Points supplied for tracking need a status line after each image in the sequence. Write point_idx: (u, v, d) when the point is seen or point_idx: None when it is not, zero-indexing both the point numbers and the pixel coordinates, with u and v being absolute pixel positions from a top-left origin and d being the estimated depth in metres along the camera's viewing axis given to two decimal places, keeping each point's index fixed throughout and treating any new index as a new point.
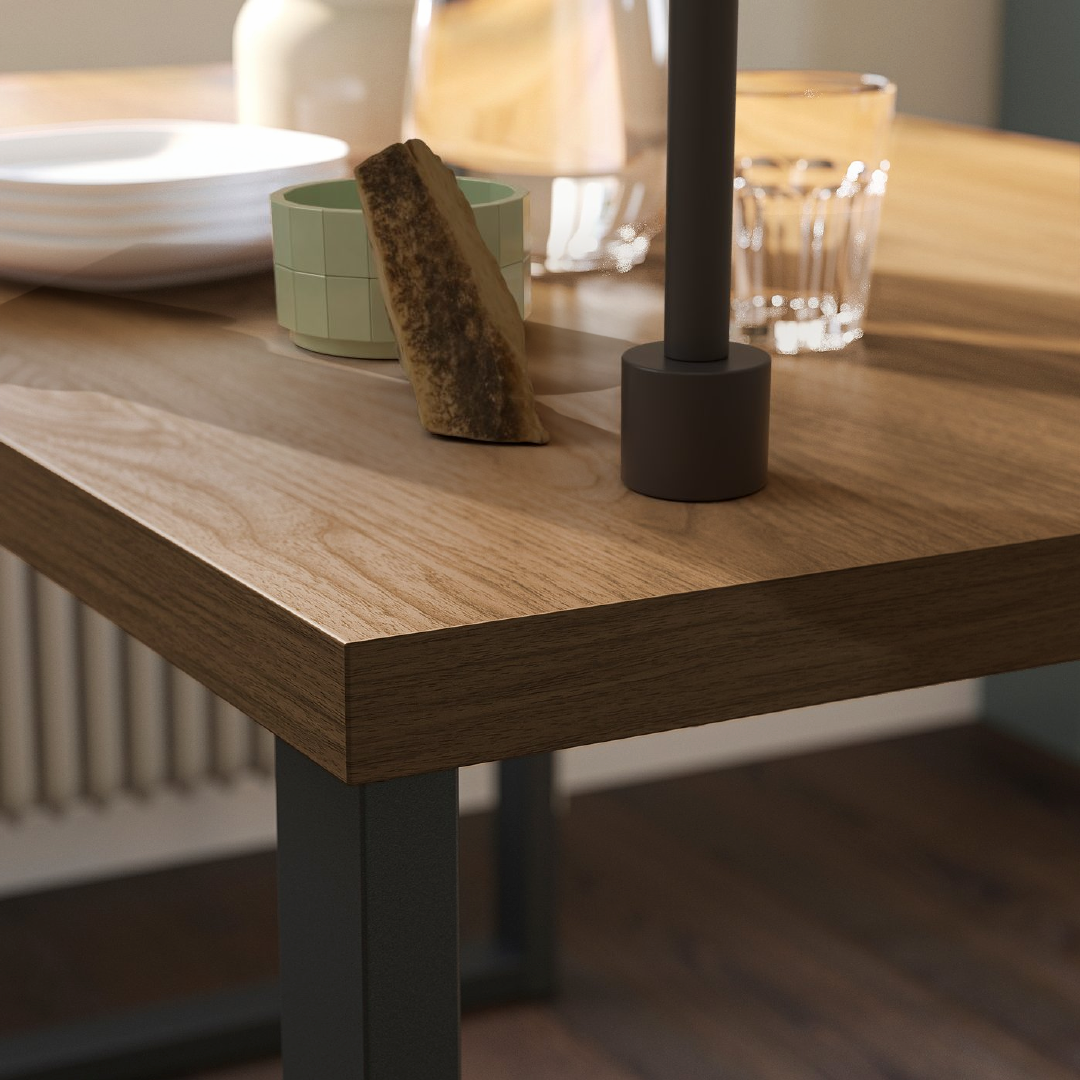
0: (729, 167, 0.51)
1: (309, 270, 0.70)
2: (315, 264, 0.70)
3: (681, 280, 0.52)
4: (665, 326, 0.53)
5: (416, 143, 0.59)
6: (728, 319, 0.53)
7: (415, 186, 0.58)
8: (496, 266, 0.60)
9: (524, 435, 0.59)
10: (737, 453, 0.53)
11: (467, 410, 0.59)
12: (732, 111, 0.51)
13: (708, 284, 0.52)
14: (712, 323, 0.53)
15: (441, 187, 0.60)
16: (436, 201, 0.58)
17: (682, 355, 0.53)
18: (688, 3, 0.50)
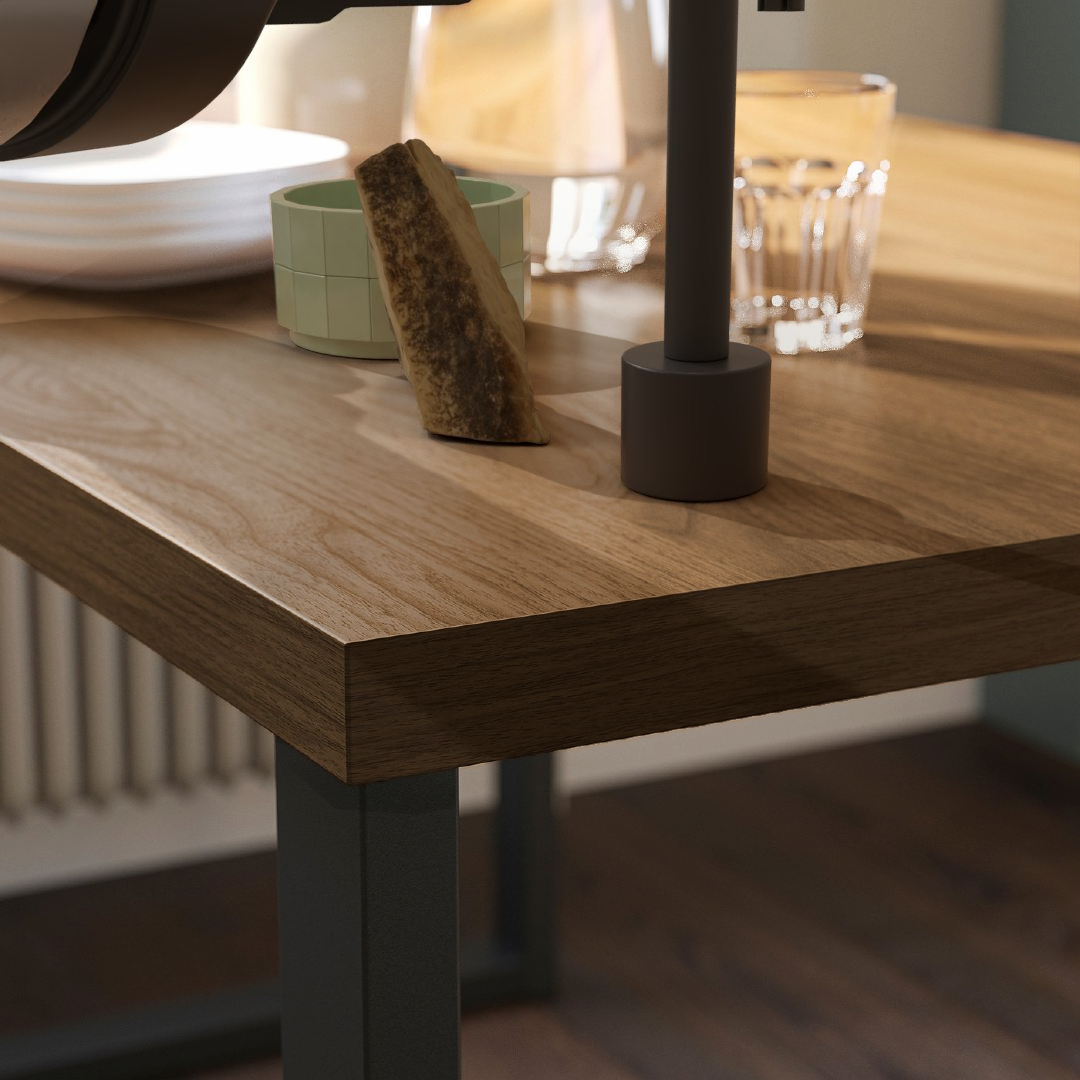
0: (729, 167, 0.51)
1: (309, 270, 0.70)
2: (315, 264, 0.70)
3: (681, 280, 0.52)
4: (665, 326, 0.53)
5: (416, 143, 0.59)
6: (728, 319, 0.53)
7: (415, 186, 0.58)
8: (496, 266, 0.60)
9: (524, 435, 0.59)
10: (737, 453, 0.53)
11: (467, 410, 0.59)
12: (732, 111, 0.51)
13: (708, 284, 0.52)
14: (712, 323, 0.53)
15: (441, 187, 0.60)
16: (436, 201, 0.58)
17: (682, 355, 0.53)
18: (688, 3, 0.50)
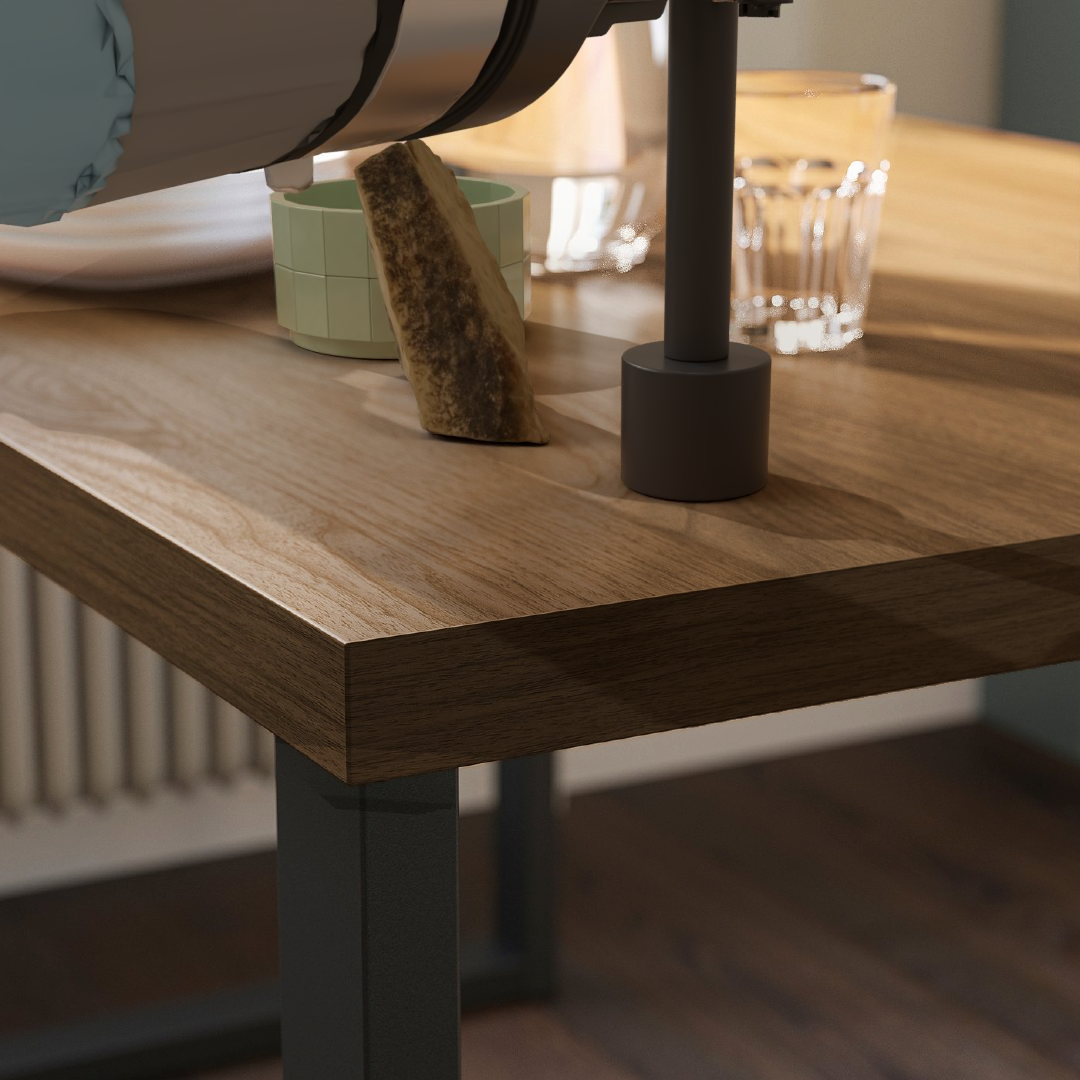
0: (729, 167, 0.51)
1: (309, 270, 0.70)
2: (315, 264, 0.70)
3: (681, 280, 0.52)
4: (665, 326, 0.53)
5: (416, 143, 0.59)
6: (728, 319, 0.53)
7: (415, 186, 0.58)
8: (496, 266, 0.60)
9: (524, 435, 0.59)
10: (737, 453, 0.53)
11: (467, 410, 0.59)
12: (732, 111, 0.51)
13: (708, 284, 0.52)
14: (712, 323, 0.53)
15: (441, 187, 0.60)
16: (436, 201, 0.58)
17: (682, 355, 0.53)
18: (688, 3, 0.50)
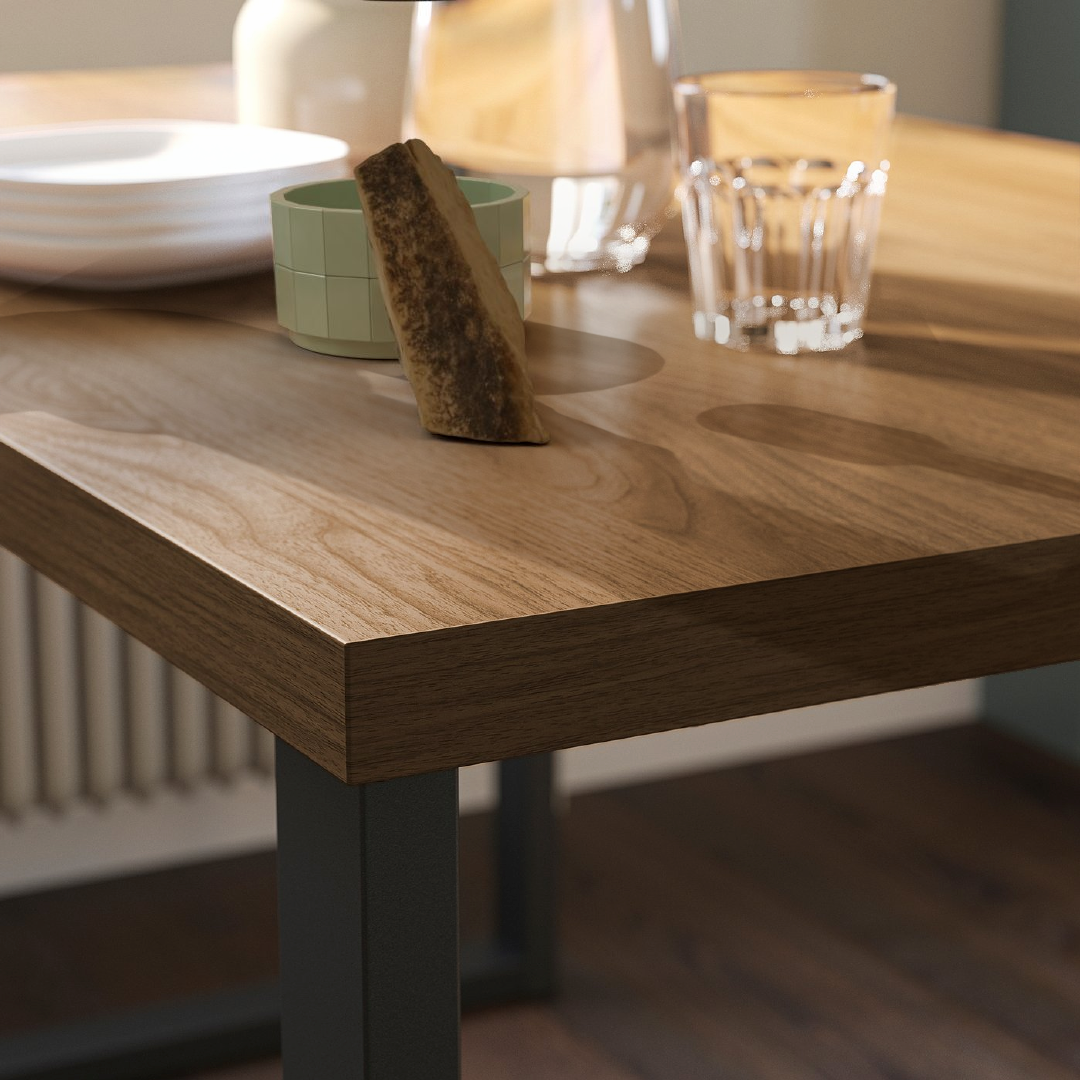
0: None
1: (309, 270, 0.70)
2: (315, 264, 0.70)
3: None
4: None
5: (416, 143, 0.59)
6: None
7: (415, 186, 0.58)
8: (496, 266, 0.60)
9: (524, 435, 0.59)
10: None
11: (467, 410, 0.59)
12: None
13: None
14: None
15: (441, 187, 0.60)
16: (436, 201, 0.58)
17: None
18: None
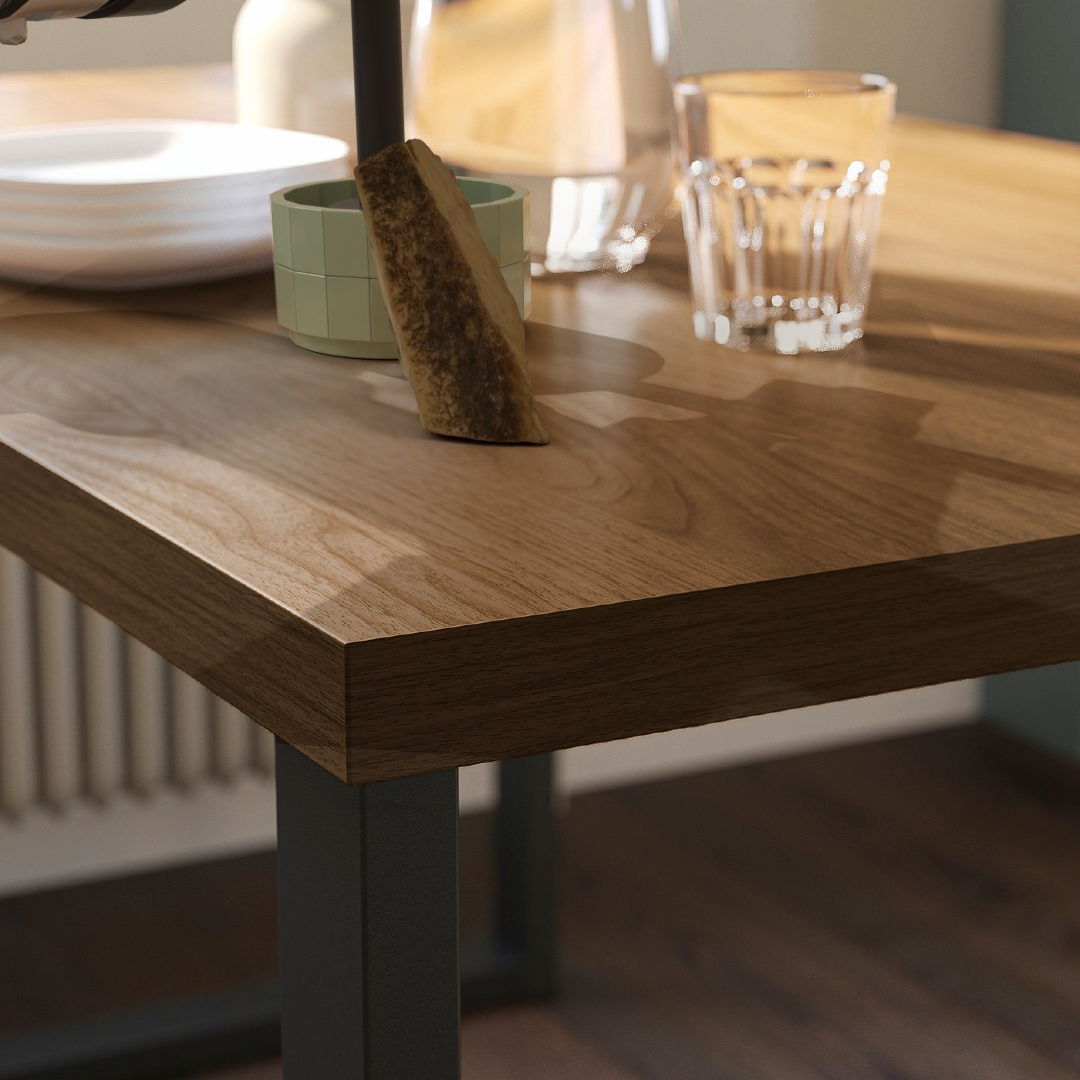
0: (396, 63, 0.71)
1: (309, 270, 0.70)
2: (315, 264, 0.70)
3: (365, 146, 0.72)
4: None
5: (416, 143, 0.59)
6: None
7: (415, 186, 0.58)
8: (496, 266, 0.60)
9: (524, 435, 0.59)
10: None
11: (467, 410, 0.59)
12: (396, 22, 0.71)
13: None
14: None
15: (441, 187, 0.60)
16: (436, 201, 0.58)
17: None
18: None
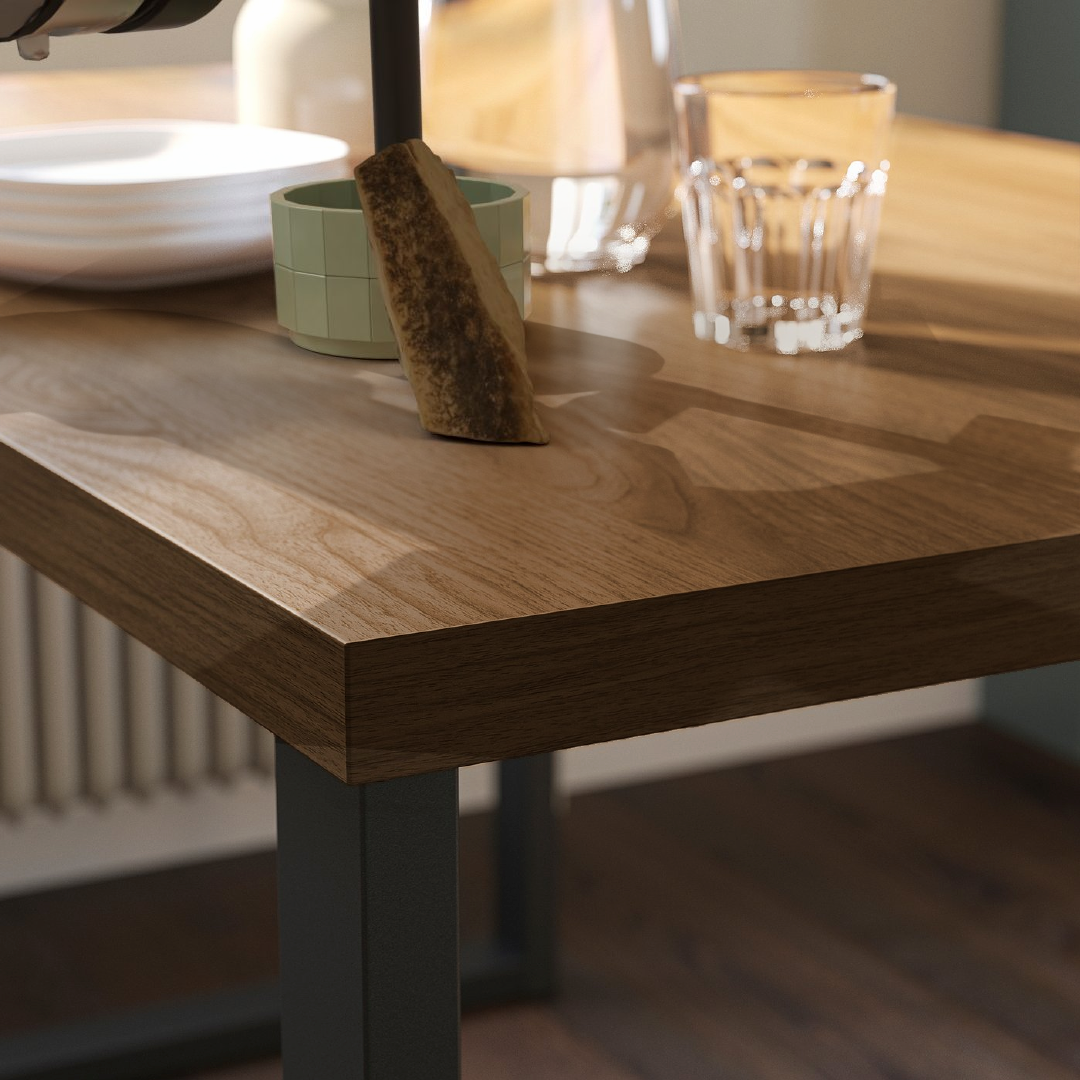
0: (415, 81, 0.71)
1: (309, 270, 0.70)
2: (315, 264, 0.70)
3: None
4: None
5: (416, 143, 0.59)
6: None
7: (415, 186, 0.58)
8: (496, 266, 0.60)
9: (524, 435, 0.59)
10: None
11: (467, 410, 0.59)
12: (415, 41, 0.71)
13: None
14: None
15: (441, 187, 0.60)
16: (436, 201, 0.58)
17: None
18: None
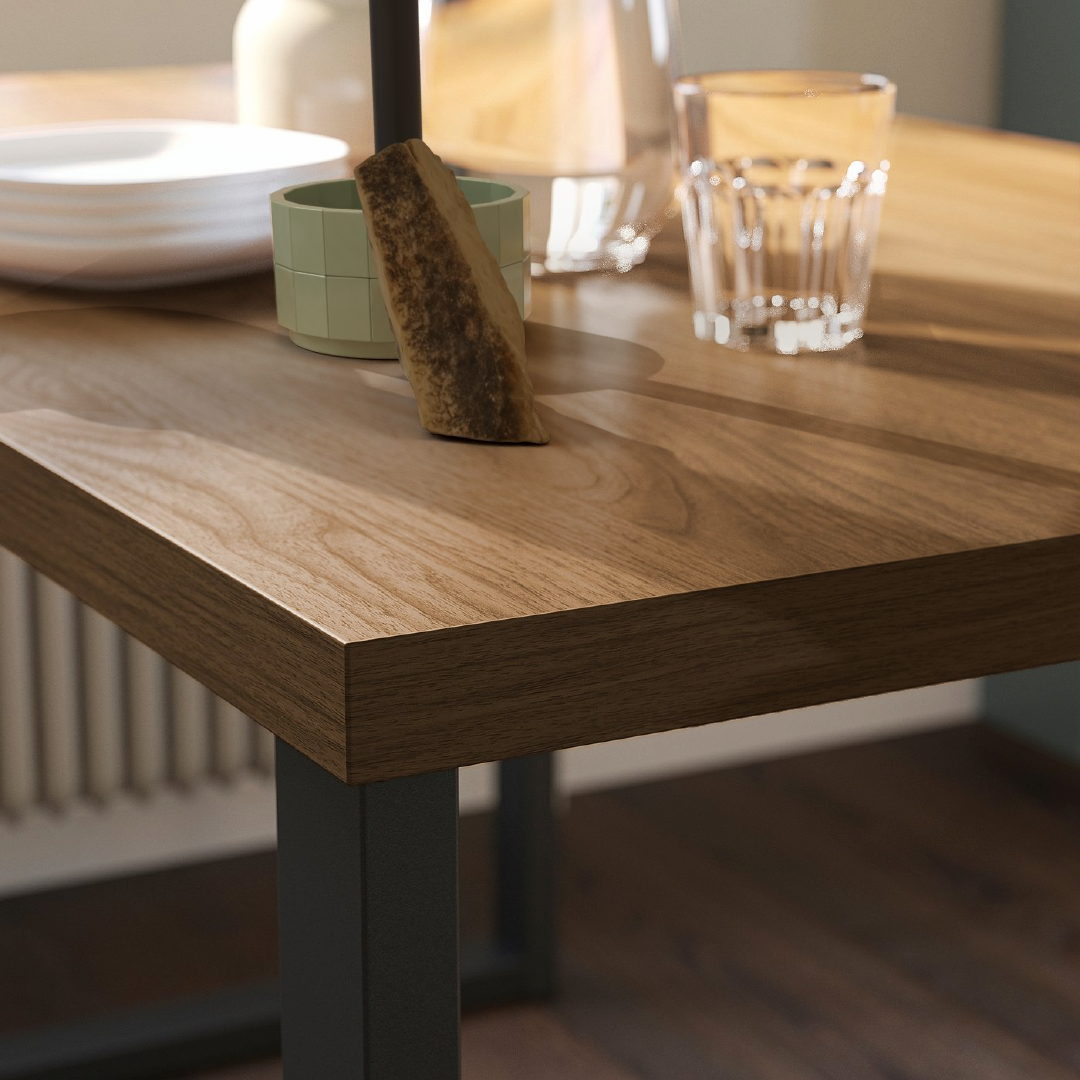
0: (415, 81, 0.71)
1: (309, 270, 0.70)
2: (315, 264, 0.70)
3: None
4: None
5: (416, 143, 0.59)
6: None
7: (415, 186, 0.58)
8: (496, 266, 0.60)
9: (524, 435, 0.59)
10: None
11: (467, 410, 0.59)
12: (415, 41, 0.71)
13: None
14: None
15: (441, 187, 0.60)
16: (436, 201, 0.58)
17: None
18: None
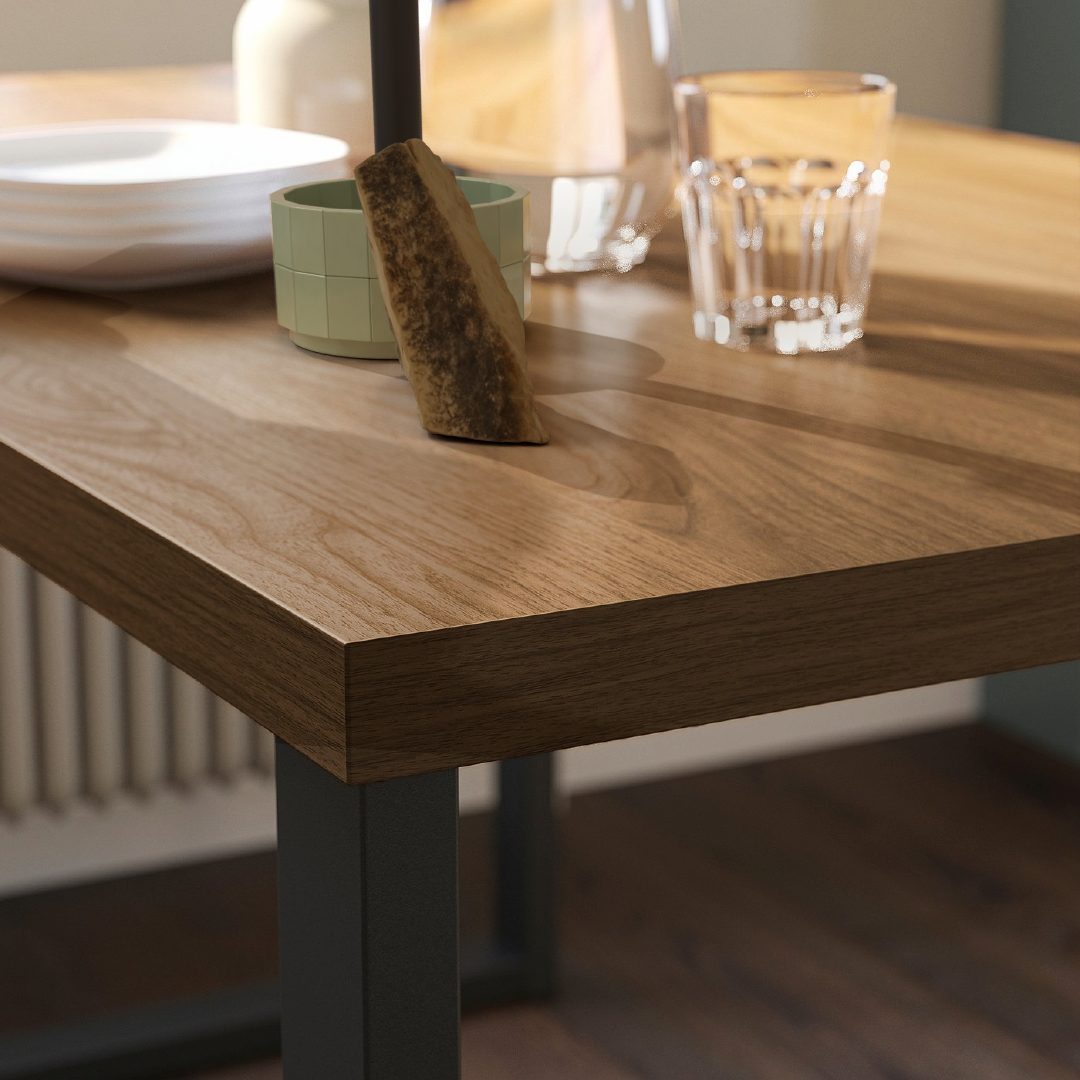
0: (415, 81, 0.71)
1: (309, 270, 0.70)
2: (315, 264, 0.70)
3: None
4: None
5: (416, 143, 0.59)
6: None
7: (415, 186, 0.58)
8: (496, 266, 0.60)
9: (524, 435, 0.59)
10: None
11: (467, 410, 0.59)
12: (415, 41, 0.71)
13: None
14: None
15: (441, 187, 0.60)
16: (436, 201, 0.58)
17: None
18: None
